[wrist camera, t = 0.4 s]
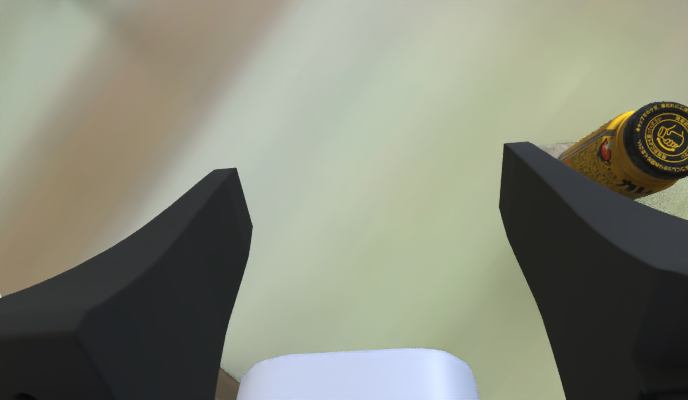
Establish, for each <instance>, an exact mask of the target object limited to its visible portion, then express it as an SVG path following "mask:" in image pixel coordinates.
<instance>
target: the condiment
mask: <svg viewBox="0 0 688 400" xmlns="http://www.w3.org/2000/svg"><path fill="white" fill-rule="evenodd" d="M538 147H539V148H540V149H542V150H544V151H545V152H547V153H548V154H550V155H551V156H553V157H555V158H556V159H558V160H559V161H561V162H563V163H564V164H566V165H567V166H569V167H571V168H572V169H574V170H576V171H577V172H579V173H581V174H583V175H584V176H586V177H588V178H590V179H591V180H593V181H595V182H597V183H599V184H601V185H603V186H605V187H607V188H608V189H610V190H612V191H614V192H616V193H618V194H621V195H623V196H625V197H627V198H629V199H632V200H634V199H637V198H640V197H645V196H648V195H650V194H654V193H656V192H659V191H662V190H665V189H667V188H668V187H670V186H672V185H673V184H674V183H676V182H677V181H678V180H679V179H682V178H685V177H686V176H688V107H687V106H684V105H682V104H679V103H675V102H664V101H663V102H654V103H650V104H648V105H645V106H643V107H642V108H640V109H639V110H636V111H630V112H627V113H623V114H621V115H619V116H617V117H616V118H614V119H613V120H610V121H609V122H608V123H606V124H604V125H603V126H601V127H600V128H599V129H598V130H596V131H594V132H592V133H591V134H590V135H588V136H586V137H585V138H583V139H582V140H580V141H579V142H572V143H562V144H551V145H542V146H538Z"/></svg>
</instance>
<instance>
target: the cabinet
mask: <svg viewBox="0 0 688 400" xmlns="http://www.w3.org/2000/svg"><path fill="white" fill-rule="evenodd" d="M239 386H240V383H239V382H238V381H236V380H235V379H234V378H233V377H232V376H230V375H229V374H228V373H227V372H225V371H224V370H223V369H222V368H221V367H220V369H219V375H218V381H217V388H216V394H215V400H236V399H237V395H238V391H239Z"/></svg>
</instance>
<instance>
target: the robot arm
mask: <svg viewBox="0 0 688 400" xmlns="http://www.w3.org/2000/svg"><path fill="white" fill-rule="evenodd" d="M499 209H500V213H501V217H502V220H503V224H504V228H505V231H506V235H507V238H508V240H509V243H510V245H511V247H512V249H513V252H514V254H515V256H516V259H517V261H518V263H519V265H520V268H521V270H522V272H523V274H524V276H525V279H526V281H527V283H528V285H529V288H530V290H531V292H532V294H533V296H534V299H535V301H536V303H537V306H538V308H539V311H540V313H541V316H542V319H543V322H544V325H545V328H546V332H547V335H548V338H549V341H550V344H551V348H552V351H553V354H554V358H555V361H556V365H557V368H558V372H559V375H560V379H561V382H562V386H563V389H564V393H565V397H566V400H688V220H685V219H682V218H679V217H676V216H673V215H670V214H667V213H664V212H661V211H659V210H656V209H653V208H651V207H648V206H646V205H644V204H641V203H639V202H637V201H634V200H632V199H629V198H627V197H625V196H623V195H621V194H618V193H616V192H614V191H612V190H610V189H608V188H607V187H605V186H603V185H601V184H599V183H597V182H595V181H593V180H591V179H590V178H588V177H586V176H584V175H583V174H581V173H579V172H577V171H576V170H574V169H572V168H571V167H569V166H567V165H566V164H564V163H563V162H561V161H559V160H558V159H556V158H555V157H553V156H551V155H550V154H548V153H547V152H545V151H544V150H542V149H540V148H539V147H537V146H535V145H534V144H532V143H530V142H517V143H506V144H504V149H503V162H502V175H501V188H500V202H499ZM252 229H253V226H252V222H251V219H250V215H249V211H248V208H247V204H246V201H245V197H244V193H243V190H242V186H241V183H240V179H239V176H238V172H237V168H227V169H216V170H214V171H212V172H211V173H209V174H208V175H207V176H205V177H204V178H203V179H202V180H200V181H199V182H198V183H197V184H196V185H194V186H193V187H192V188H191V189H190V190H189V191H187V192H186V193H185V194H184V195H183V196H181V197H180V198H179V199H178V200H177V201H175V202H174V203H173V204H172V205H171V206H169V207H168V208H167V209H166V210H164V211H163V212H162V213H160V214H159V215H158V216H156V217H155V218H154V219H153V220H151V221H150V222H149V223H147V224H146V225H145V226H143V227H142V228H140V229H139V230H138V231H136V232H135V233H133V234H132V235H130V236H129V237H127V238H126V239H124V240H122V241H121V242H119V243H118V244H116V245H114V246H113V247H111V248H109V249H108V250H106V251H104V252H102V253H100V254H99V255H97V256H95V257H93V258H91V259H89V260H87V261H85V262H84V263H82V264H80V265H78V266H76V267H74V268H72V269H70V270H68V271H66V272H63V273H61V274H59V275H57V276H55V277H53V278H50V279H48V280H46V281H43V282H41V283H38V284H36V285H34V286H31V287H29V288H26V289H24V290H21V291H18V292H16V293H13V294H10V295H7V296H4V297H2V298H0V400H215V394H216V388H217V381H218V375H219V369H220V363H221V357H222V352H223V346H224V341H225V335H226V332H227V328H228V324H229V320H230V317H231V313H232V310H233V307H234V304H235V300H236V297H237V294H238V291H239V287H240V284H241V281H242V278H243V274H244V271H245V267H246V264H247V260H248V257H249V251H250V244H251V237H252ZM236 400H480V397H479V392H478V388H477V384H476V381H475V378H474V376H473V373H472V371H471V368H470V366H469V365H468V364H467V363H465V362H463V361H462V360H460V359H458V358H456V357H455V356H453V355H451V354H450V353H448V352H445V351H441V350H433V349H424V348H400V349H382V350H364V351H346V352H328V353H310V354H292V355H284V356H280V357H276V358H272V359H268V360H263V361H260V362H258V363H257V364H255V365H254V366H253V367H252V368H251V369H250V370H249V371H248V372H247V373H245V374H244V375H243V376H242V377H241V382H240V386H239V391H238V395H237V399H236Z"/></svg>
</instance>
